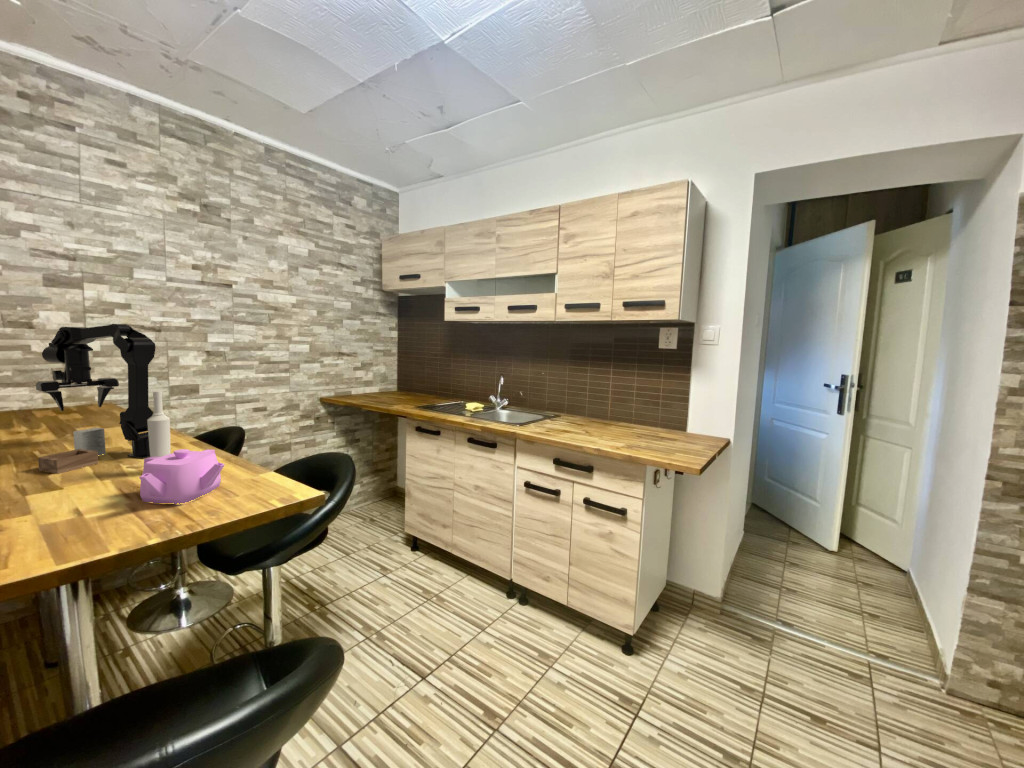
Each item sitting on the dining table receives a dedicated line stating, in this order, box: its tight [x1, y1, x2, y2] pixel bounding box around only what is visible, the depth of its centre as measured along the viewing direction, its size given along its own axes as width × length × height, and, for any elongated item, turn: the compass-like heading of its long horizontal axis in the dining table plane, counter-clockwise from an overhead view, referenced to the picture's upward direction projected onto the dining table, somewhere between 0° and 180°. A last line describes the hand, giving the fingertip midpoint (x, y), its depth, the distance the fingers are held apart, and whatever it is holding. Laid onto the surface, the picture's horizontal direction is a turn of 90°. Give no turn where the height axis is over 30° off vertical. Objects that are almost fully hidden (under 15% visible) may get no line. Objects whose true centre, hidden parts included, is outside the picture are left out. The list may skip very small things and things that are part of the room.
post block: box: [37, 449, 99, 475], centre depth 122 cm, size 7×10×4 cm
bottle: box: [147, 390, 172, 457], centre depth 122 cm, size 5×5×25 cm
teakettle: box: [139, 448, 225, 504], centre depth 108 cm, size 17×17×12 cm
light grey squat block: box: [72, 427, 107, 455], centre depth 132 cm, size 4×6×9 cm, turn 168°
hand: (81, 408), depth 139 cm, fingers open, 9 cm apart
